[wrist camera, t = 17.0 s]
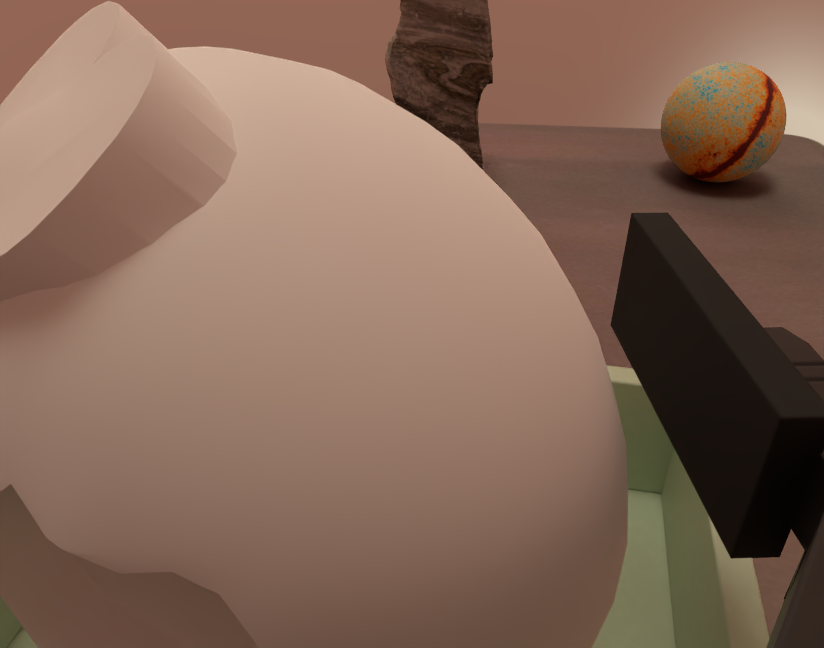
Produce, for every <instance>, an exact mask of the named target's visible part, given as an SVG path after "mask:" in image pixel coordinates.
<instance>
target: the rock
mask: <svg viewBox="0 0 824 648" xmlns="http://www.w3.org/2000/svg"><path fill="white" fill-rule="evenodd" d="M400 10H401V17H400V22H399V24H398V27H397V30H396V32H395V35H394V36H393V37H392V38H391V40H390V41H389V42H388V44H387V48H386V55H385V62H386V67H387V71H388V75H389V77H390V81H391V90H392V94H393V98H394V100H395V103H396V105H398V106H400V107H401V108H403V109H405V110H407V111H408V112H410V113H412V114H413V115H415V116H417V117H419V118H420V119H422V120H424V121H425V122H427V123H428V124H430V125H431V126H432V127H434V128H435V129H436V130H438V131H439V132H441V133H442V134H443V135H445V136H446V137H447V138H449V139H450V140H452V141H453V142H454V143H456V144H457V145H458V146H459V147H460V148H461V149H462V150H463V151H464V152H465V153H466V154H467V155H468V156H469V157H470V158H471V159H472V160H473V161H474V162H475V163H476V164H477V165H478V166H479V167H480V168H481V169H482V152H481V146H480V139H479V128H478V105H479V101H480V97H481V93H482V91H483V89H484V88H485V87H486V85H487V84H491V83H493V82H492V81H493V76H492V75H493V73H492V65H491V61H492V57H493V51H492V37H491V27H490V17H489V9H488V1H487V0H401V3H400Z"/></svg>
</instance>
